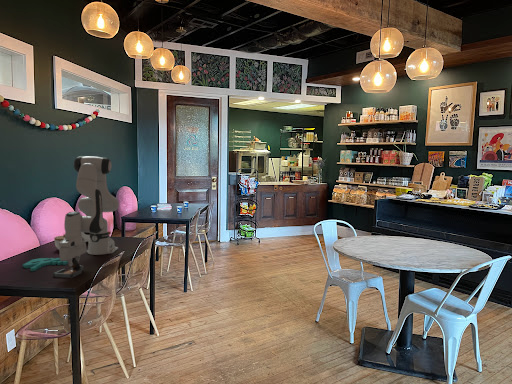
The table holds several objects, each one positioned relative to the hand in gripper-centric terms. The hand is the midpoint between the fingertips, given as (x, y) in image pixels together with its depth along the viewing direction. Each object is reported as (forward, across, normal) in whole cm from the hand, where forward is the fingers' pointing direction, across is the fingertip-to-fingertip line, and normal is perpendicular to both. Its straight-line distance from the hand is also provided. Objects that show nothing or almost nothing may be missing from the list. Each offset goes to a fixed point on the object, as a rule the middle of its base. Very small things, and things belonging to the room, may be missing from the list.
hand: (74, 264), depth 215 cm
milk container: (+5, -71, -41) cm, 82 cm away
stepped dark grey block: (+3, -3, 0) cm, 4 cm away
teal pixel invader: (+5, -11, -27) cm, 30 cm away
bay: (+4, +5, 0) cm, 7 cm away
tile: (+5, +2, -1) cm, 5 cm away
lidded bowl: (+5, -48, -38) cm, 61 cm away
